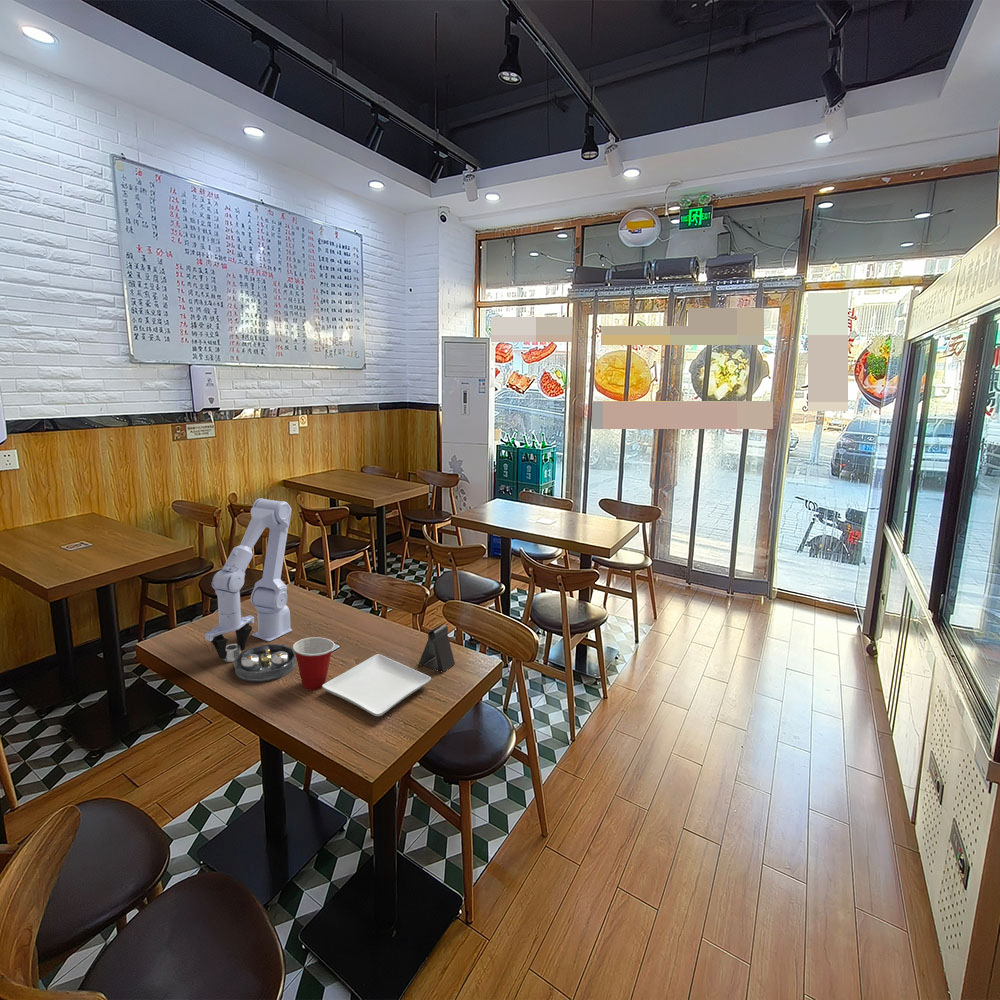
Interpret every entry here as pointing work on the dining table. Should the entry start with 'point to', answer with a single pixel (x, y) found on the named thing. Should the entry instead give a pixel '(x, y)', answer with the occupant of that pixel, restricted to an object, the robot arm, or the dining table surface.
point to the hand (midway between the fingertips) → (232, 653)
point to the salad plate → (377, 684)
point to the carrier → (265, 663)
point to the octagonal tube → (232, 652)
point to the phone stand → (438, 650)
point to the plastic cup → (313, 660)
